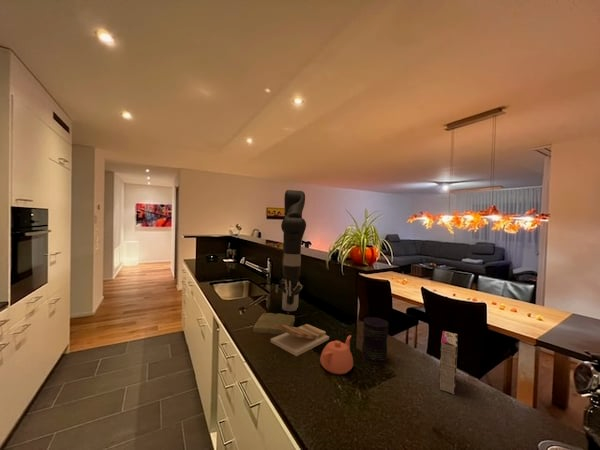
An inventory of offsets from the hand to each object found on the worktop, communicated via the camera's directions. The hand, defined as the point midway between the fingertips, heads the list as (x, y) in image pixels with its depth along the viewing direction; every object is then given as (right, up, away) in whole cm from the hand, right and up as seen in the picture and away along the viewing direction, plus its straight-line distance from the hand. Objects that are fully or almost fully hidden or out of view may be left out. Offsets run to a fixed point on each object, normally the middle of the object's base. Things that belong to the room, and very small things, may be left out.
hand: (290, 304), depth 110 cm
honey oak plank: (+2, -14, +4) cm, 15 cm away
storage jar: (+35, -21, -5) cm, 41 cm away
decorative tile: (-8, -19, +22) cm, 30 cm away
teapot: (+19, -20, -12) cm, 30 cm away
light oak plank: (+10, -17, +12) cm, 23 cm away
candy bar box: (+56, -22, -21) cm, 63 cm away
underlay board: (+5, -19, +6) cm, 20 cm away
